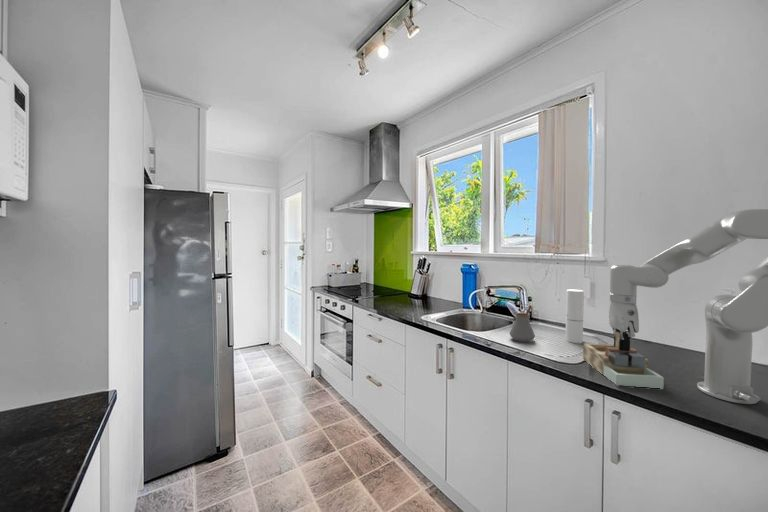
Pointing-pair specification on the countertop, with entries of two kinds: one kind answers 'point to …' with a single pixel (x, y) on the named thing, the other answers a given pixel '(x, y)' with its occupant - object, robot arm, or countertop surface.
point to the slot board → (606, 360)
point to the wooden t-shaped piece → (617, 345)
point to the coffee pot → (522, 328)
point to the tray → (635, 378)
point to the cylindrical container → (574, 315)
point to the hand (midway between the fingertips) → (621, 348)
